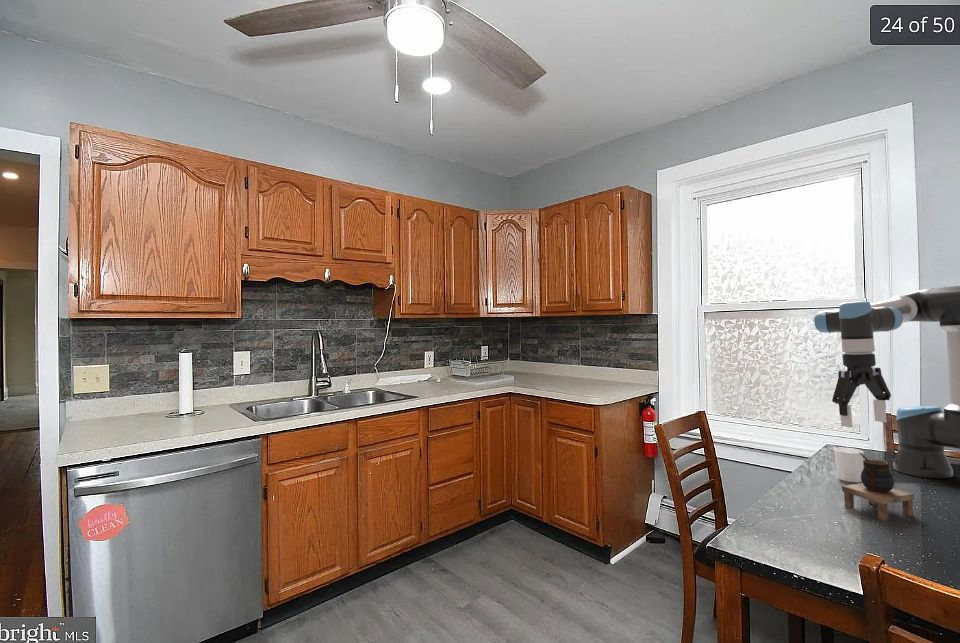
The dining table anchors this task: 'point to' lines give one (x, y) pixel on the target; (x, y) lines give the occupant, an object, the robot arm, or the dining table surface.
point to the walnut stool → (879, 499)
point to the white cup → (849, 464)
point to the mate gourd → (877, 475)
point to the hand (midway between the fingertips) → (864, 424)
